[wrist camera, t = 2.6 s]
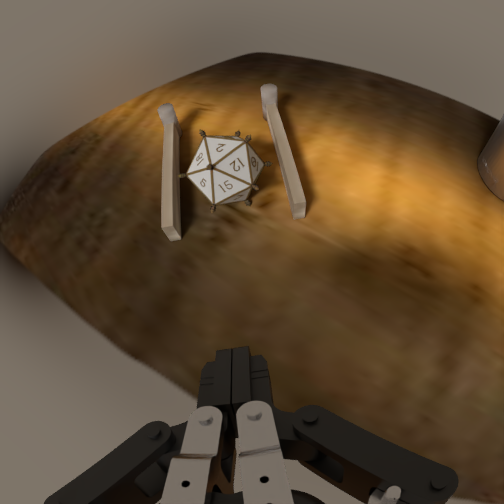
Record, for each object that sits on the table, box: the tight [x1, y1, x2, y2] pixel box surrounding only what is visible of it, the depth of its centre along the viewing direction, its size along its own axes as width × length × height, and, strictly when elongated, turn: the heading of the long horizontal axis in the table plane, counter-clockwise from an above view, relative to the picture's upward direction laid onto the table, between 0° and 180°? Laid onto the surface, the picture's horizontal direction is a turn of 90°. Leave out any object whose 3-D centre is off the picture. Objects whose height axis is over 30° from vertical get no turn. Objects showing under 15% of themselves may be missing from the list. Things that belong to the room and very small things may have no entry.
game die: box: [178, 129, 273, 214], centre depth 31 cm, size 9×8×10 cm
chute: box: [158, 84, 306, 241], centre depth 34 cm, size 15×18×5 cm
